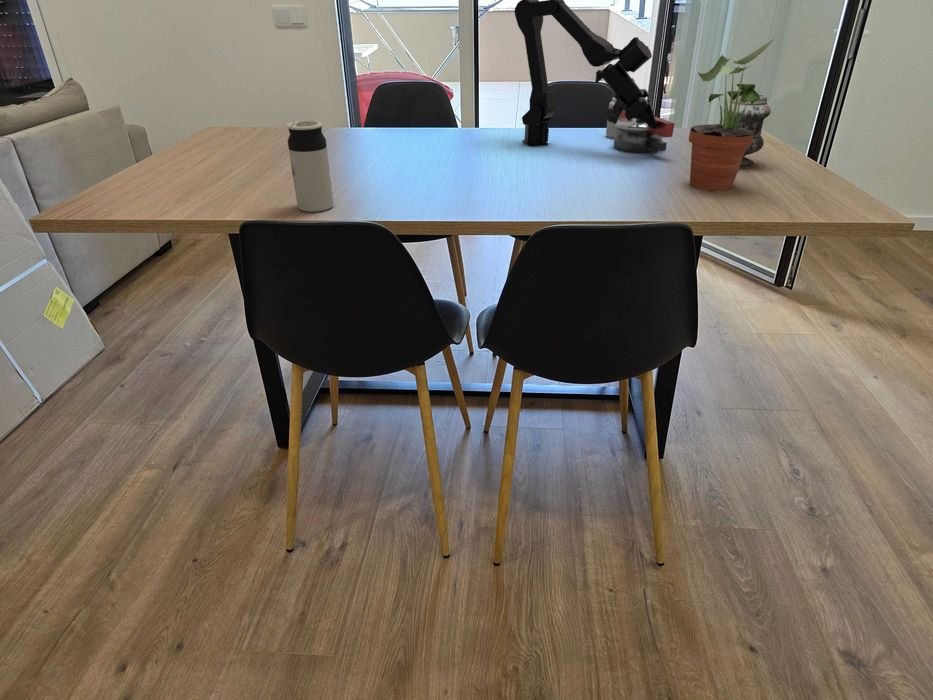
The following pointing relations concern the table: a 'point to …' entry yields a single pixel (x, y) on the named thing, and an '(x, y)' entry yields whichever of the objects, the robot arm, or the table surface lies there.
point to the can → (611, 126)
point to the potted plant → (722, 133)
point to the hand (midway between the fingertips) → (655, 127)
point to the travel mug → (310, 166)
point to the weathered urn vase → (752, 123)
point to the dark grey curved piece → (638, 142)
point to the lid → (646, 126)
